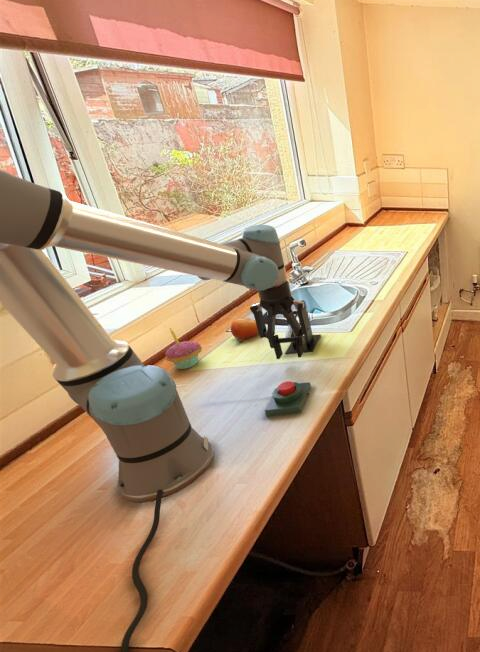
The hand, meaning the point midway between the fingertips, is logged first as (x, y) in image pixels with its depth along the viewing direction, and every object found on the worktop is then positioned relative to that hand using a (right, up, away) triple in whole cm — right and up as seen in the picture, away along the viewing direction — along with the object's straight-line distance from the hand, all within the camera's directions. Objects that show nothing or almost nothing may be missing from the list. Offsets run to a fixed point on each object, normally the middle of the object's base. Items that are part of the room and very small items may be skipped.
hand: (290, 355), depth 117 cm
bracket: (-2, +1, +12) cm, 12 cm away
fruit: (-23, +3, +17) cm, 29 cm away
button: (+7, -7, -14) cm, 17 cm away
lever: (-1, +8, +3) cm, 9 cm away
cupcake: (-32, -3, +2) cm, 32 cm away
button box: (+7, -10, -12) cm, 17 cm away
